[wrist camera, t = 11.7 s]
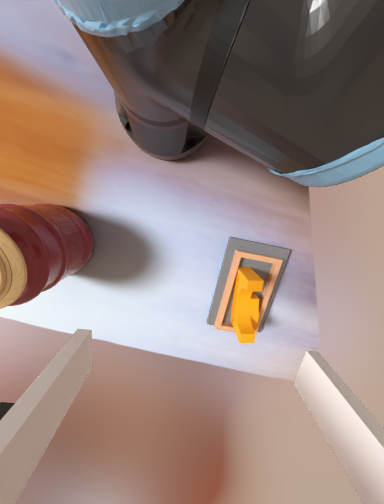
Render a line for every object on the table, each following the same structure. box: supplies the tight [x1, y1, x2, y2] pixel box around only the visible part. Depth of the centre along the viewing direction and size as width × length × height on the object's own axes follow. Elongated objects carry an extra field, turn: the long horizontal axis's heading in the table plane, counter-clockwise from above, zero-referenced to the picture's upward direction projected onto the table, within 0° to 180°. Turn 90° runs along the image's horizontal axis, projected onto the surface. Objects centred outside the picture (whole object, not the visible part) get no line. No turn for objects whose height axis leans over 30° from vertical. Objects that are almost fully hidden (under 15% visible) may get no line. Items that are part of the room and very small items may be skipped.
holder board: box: [207, 237, 290, 335], centre depth 36 cm, size 19×12×2 cm, turn 168°
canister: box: [0, 204, 94, 309], centre depth 24 cm, size 13×13×18 cm
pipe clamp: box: [231, 267, 264, 343], centre depth 33 cm, size 12×4×6 cm, turn 178°
